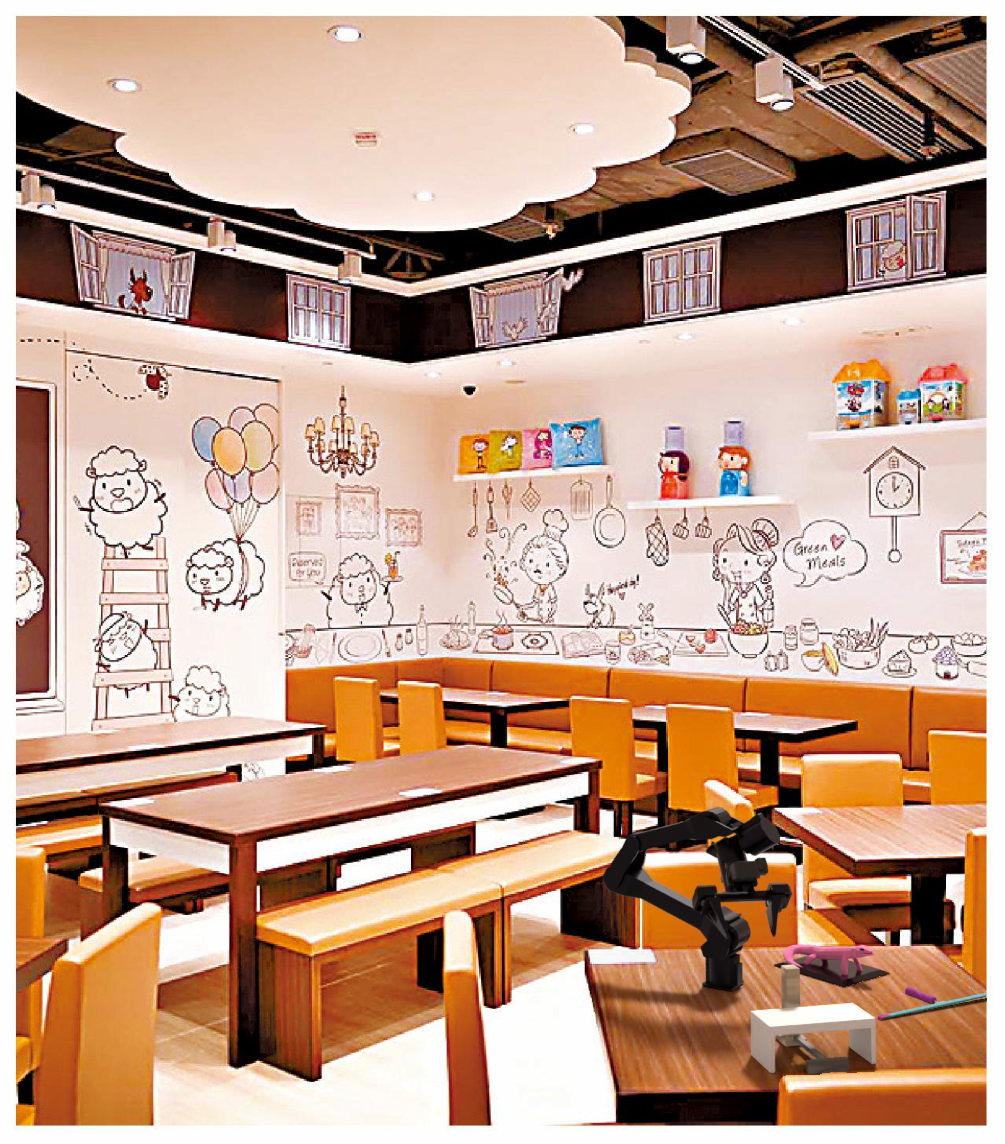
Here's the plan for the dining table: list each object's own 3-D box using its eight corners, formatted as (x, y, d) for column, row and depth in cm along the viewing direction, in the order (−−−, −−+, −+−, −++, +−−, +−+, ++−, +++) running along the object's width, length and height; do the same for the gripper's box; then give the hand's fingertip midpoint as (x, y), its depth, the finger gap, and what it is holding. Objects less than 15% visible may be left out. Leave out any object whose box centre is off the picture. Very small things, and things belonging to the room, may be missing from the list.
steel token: (817, 1081, 196) (817, 1075, 196) (826, 1072, 200) (826, 1066, 200) (844, 1087, 194) (844, 1081, 194) (853, 1078, 197) (853, 1072, 197)
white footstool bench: (751, 1055, 207) (750, 1010, 207) (853, 1046, 210) (852, 1003, 211) (770, 1072, 199) (769, 1026, 199) (876, 1063, 203) (875, 1018, 203)
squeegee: (957, 976, 245) (996, 991, 236) (957, 985, 245) (996, 1000, 236) (845, 999, 233) (881, 1016, 224) (845, 1008, 233) (881, 1025, 224)
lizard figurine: (850, 992, 242) (849, 955, 242) (773, 968, 258) (772, 933, 258) (895, 979, 250) (895, 943, 250) (818, 956, 266) (818, 922, 267)
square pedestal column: (768, 1039, 214) (767, 965, 215) (805, 1036, 216) (803, 962, 216) (809, 1074, 198) (807, 994, 199) (848, 1071, 200) (847, 991, 200)
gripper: (694, 844, 236) (710, 916, 225) (788, 841, 238) (808, 912, 226) (685, 875, 244) (700, 946, 232) (776, 872, 245) (795, 943, 234)
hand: (751, 936), depth 231 cm, fingers open, 9 cm apart
